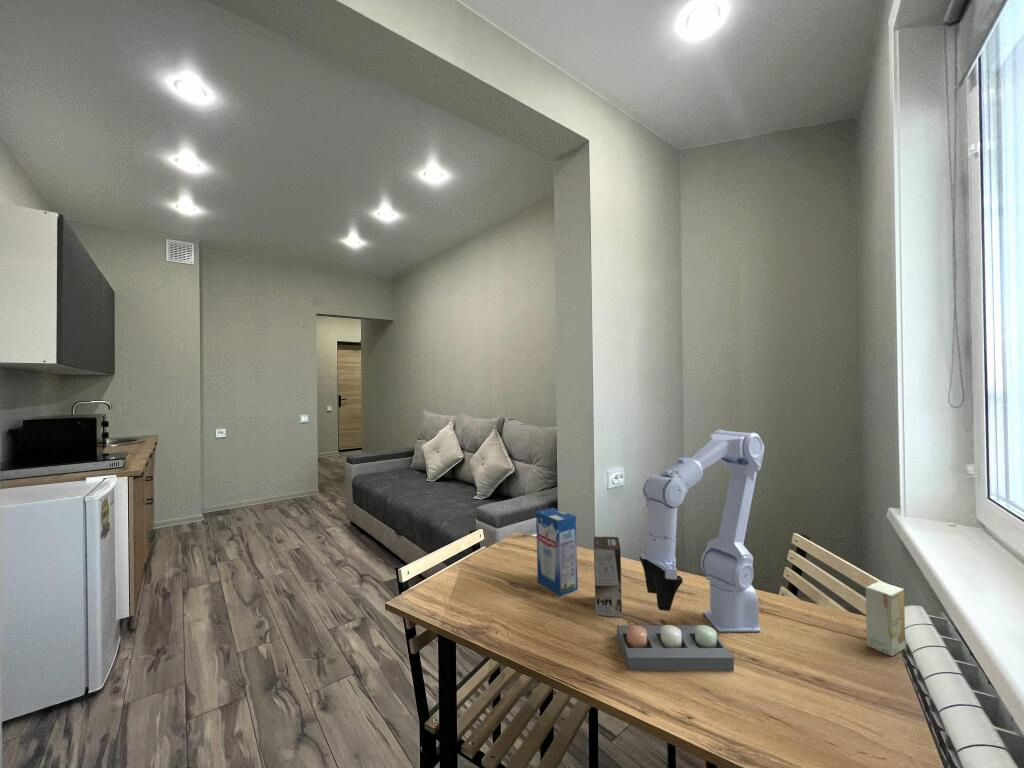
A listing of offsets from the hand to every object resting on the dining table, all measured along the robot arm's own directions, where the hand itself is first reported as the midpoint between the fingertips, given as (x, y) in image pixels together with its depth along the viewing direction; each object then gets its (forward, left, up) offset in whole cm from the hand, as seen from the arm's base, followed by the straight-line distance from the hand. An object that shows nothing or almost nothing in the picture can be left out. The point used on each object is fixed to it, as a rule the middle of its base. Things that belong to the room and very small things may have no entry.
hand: (658, 600), depth 87 cm
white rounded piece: (-2, 0, -9) cm, 9 cm away
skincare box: (-47, -2, -11) cm, 48 cm away
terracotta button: (+5, 0, -9) cm, 10 cm away
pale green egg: (-9, 0, -9) cm, 13 cm away
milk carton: (+19, -29, -11) cm, 36 cm away
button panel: (-2, 0, -11) cm, 11 cm away
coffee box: (+7, -18, -11) cm, 22 cm away
